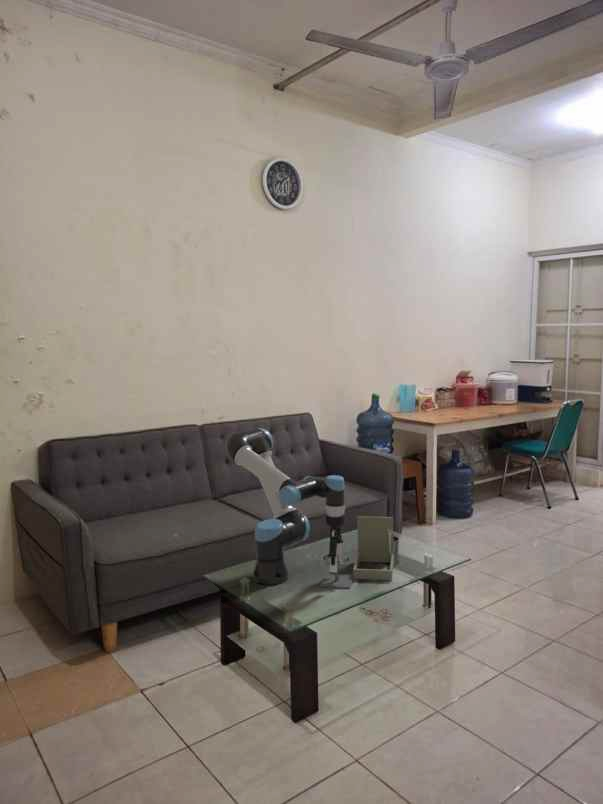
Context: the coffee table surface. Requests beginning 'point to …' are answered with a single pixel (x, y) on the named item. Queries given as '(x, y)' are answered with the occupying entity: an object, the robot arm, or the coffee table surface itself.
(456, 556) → the coffee table surface
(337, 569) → the mechanical component
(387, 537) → the case
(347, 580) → the mat
